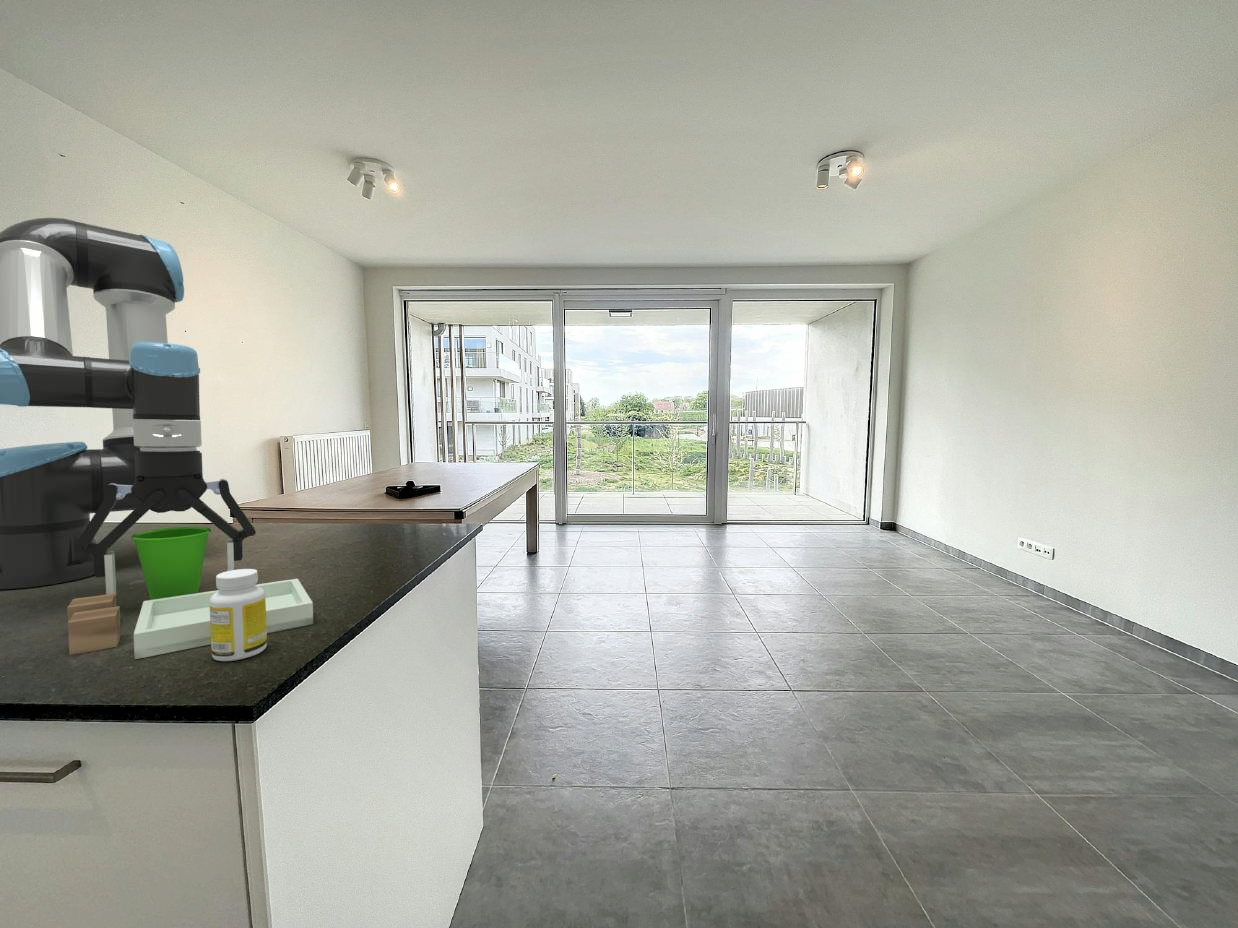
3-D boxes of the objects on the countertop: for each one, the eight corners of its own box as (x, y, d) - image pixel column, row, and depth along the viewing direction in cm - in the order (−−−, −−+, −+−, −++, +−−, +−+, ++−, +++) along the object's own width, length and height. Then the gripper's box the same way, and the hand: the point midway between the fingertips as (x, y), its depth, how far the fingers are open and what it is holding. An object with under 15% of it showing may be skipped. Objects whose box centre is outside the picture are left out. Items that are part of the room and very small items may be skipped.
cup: (167, 617, 72) (164, 540, 71) (117, 611, 74) (113, 536, 73) (228, 596, 81) (226, 528, 80) (182, 592, 82) (179, 525, 82)
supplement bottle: (268, 639, 65) (266, 564, 64) (266, 656, 61) (263, 575, 60) (214, 648, 62) (211, 570, 62) (208, 666, 58) (205, 582, 57)
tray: (144, 622, 70) (143, 601, 70) (298, 596, 81) (297, 578, 81) (134, 659, 59) (133, 634, 59) (313, 623, 70) (312, 602, 70)
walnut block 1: (74, 628, 68) (73, 598, 67) (116, 621, 70) (115, 593, 70) (68, 638, 65) (67, 607, 64) (113, 630, 67) (111, 601, 67)
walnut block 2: (76, 644, 63) (74, 612, 63) (121, 636, 65) (119, 606, 65) (69, 655, 60) (67, 622, 60) (117, 647, 62) (115, 615, 62)
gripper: (37, 451, 65) (46, 614, 66) (272, 449, 80) (276, 580, 82) (50, 449, 70) (58, 598, 72) (267, 447, 86) (271, 570, 88)
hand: (174, 589), depth 77 cm, fingers open, 13 cm apart
